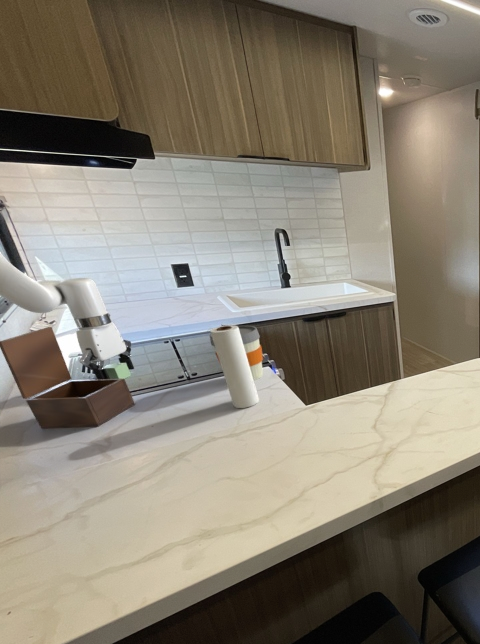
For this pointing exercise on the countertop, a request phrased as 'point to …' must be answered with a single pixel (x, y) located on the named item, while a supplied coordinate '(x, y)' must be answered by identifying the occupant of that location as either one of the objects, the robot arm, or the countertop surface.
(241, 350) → the paper towel roll
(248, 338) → the reusable coffee cup
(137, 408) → the countertop surface
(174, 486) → the countertop surface
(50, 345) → the lid
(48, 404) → the chest
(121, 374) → the block
